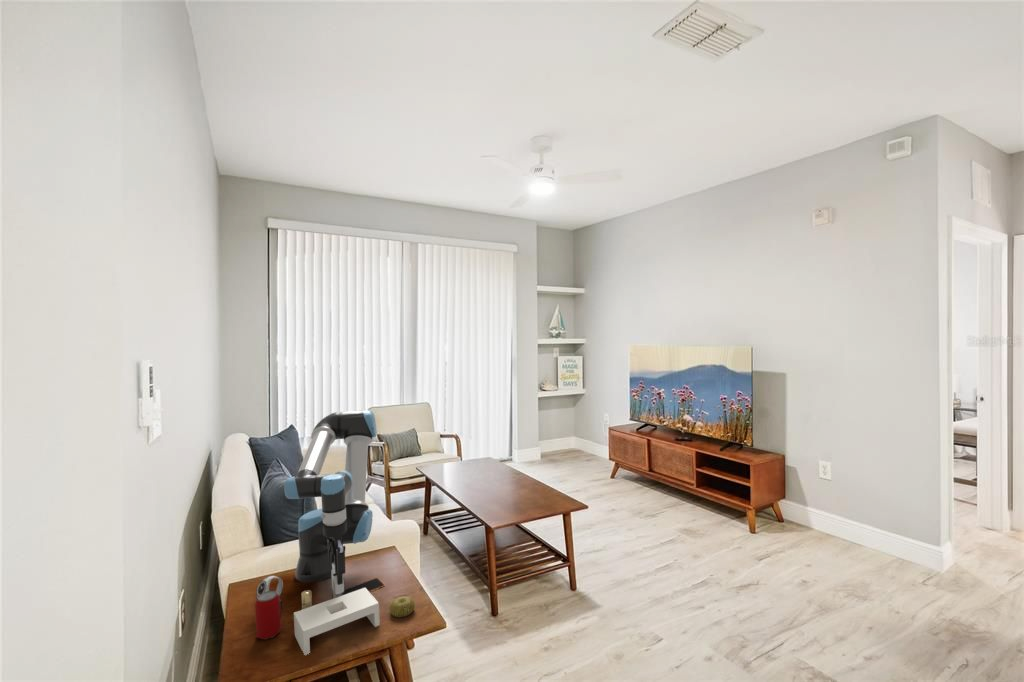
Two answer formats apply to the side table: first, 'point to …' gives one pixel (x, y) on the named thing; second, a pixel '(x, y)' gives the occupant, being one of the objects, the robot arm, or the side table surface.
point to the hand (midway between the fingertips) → (338, 590)
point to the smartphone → (365, 586)
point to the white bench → (334, 615)
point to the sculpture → (402, 606)
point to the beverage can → (268, 615)
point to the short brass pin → (306, 599)
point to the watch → (265, 585)
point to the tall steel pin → (334, 582)
